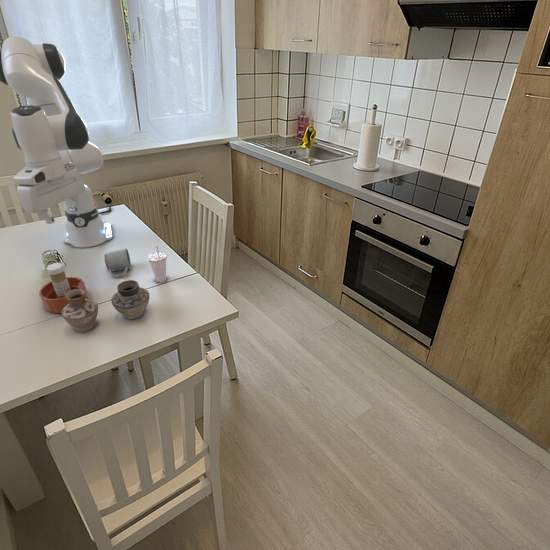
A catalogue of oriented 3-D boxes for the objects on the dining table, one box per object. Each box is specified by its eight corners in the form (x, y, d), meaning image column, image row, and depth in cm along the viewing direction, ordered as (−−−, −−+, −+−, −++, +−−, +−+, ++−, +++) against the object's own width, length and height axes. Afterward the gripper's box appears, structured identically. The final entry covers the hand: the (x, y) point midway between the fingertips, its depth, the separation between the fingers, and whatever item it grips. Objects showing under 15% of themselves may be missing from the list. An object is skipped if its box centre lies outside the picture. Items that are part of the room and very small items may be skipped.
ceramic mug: (108, 265, 149) (103, 247, 145) (131, 262, 151) (127, 244, 147) (107, 280, 141) (102, 262, 136) (131, 276, 143) (127, 258, 139)
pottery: (66, 320, 121) (55, 288, 115) (148, 299, 131) (142, 269, 125) (68, 342, 113) (56, 309, 107) (155, 318, 123) (149, 286, 116)
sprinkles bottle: (67, 295, 132) (55, 260, 125) (77, 298, 130) (65, 264, 123) (55, 302, 128) (43, 267, 121) (65, 306, 127) (53, 271, 119)
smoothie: (165, 285, 138) (159, 250, 131) (148, 283, 139) (141, 248, 132) (173, 275, 143) (167, 241, 136) (156, 273, 145) (150, 240, 137)
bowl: (50, 292, 134) (45, 279, 131) (91, 288, 136) (88, 275, 133) (39, 316, 123) (33, 302, 120) (84, 311, 125) (79, 297, 122)
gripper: (65, 160, 118) (79, 204, 124) (7, 179, 101) (26, 229, 108) (82, 160, 116) (95, 205, 123) (25, 180, 99) (44, 231, 106)
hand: (63, 217), depth 115 cm, fingers open, 8 cm apart
